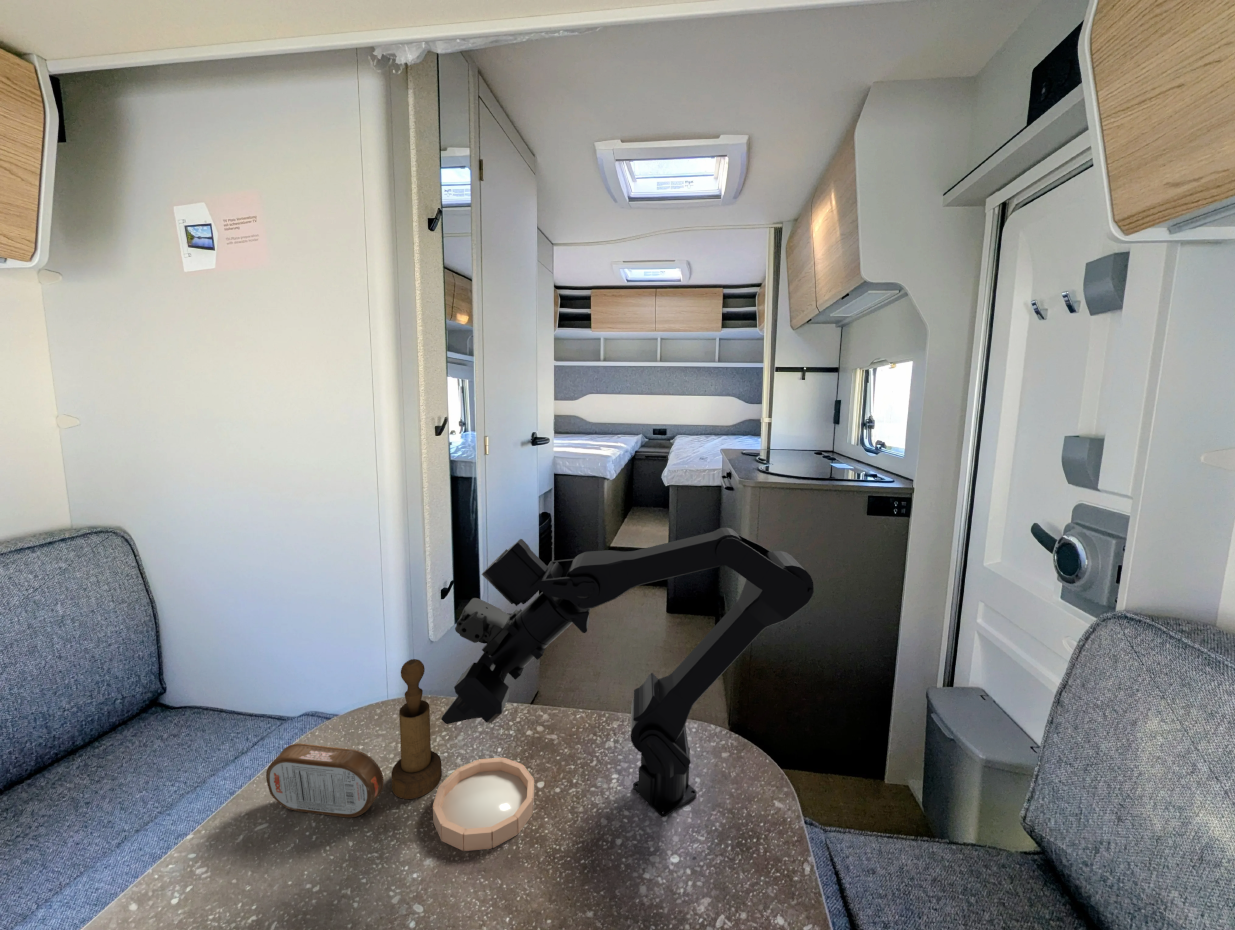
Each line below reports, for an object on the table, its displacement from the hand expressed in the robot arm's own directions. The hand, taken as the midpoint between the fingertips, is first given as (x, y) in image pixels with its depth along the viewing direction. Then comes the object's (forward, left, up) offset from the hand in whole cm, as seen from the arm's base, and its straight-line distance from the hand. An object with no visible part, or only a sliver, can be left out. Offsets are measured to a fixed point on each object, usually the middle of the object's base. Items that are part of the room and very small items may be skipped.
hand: (456, 699), depth 69 cm
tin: (+16, -6, -13) cm, 21 cm away
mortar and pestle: (+5, -4, -13) cm, 14 cm away
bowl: (-1, +6, -13) cm, 14 cm away
